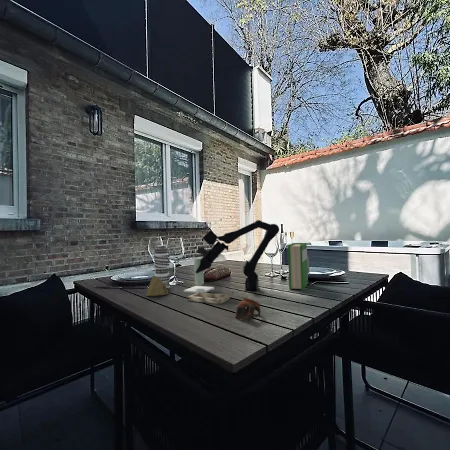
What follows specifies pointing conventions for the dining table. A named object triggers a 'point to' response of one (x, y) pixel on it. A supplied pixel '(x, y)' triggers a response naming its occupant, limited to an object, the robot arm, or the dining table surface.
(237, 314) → the brown lumpy piece
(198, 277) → the round block
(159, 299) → the dining table surface
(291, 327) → the dining table surface
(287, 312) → the dining table surface
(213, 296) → the frame
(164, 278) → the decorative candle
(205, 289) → the board
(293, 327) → the dining table surface
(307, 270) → the coffee box
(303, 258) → the hardback book
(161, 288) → the rock
